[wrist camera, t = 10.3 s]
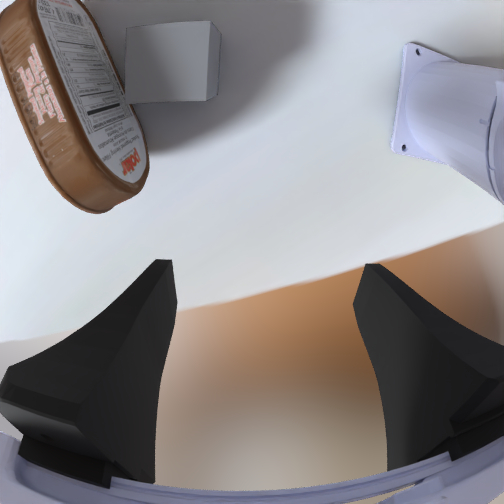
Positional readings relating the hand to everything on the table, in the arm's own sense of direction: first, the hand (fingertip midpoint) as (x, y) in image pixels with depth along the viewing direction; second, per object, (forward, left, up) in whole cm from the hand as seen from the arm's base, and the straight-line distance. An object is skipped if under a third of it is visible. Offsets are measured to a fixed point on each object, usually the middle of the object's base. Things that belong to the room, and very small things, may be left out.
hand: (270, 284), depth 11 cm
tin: (+11, -7, -11) cm, 17 cm away
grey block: (+5, -8, -11) cm, 14 cm away
